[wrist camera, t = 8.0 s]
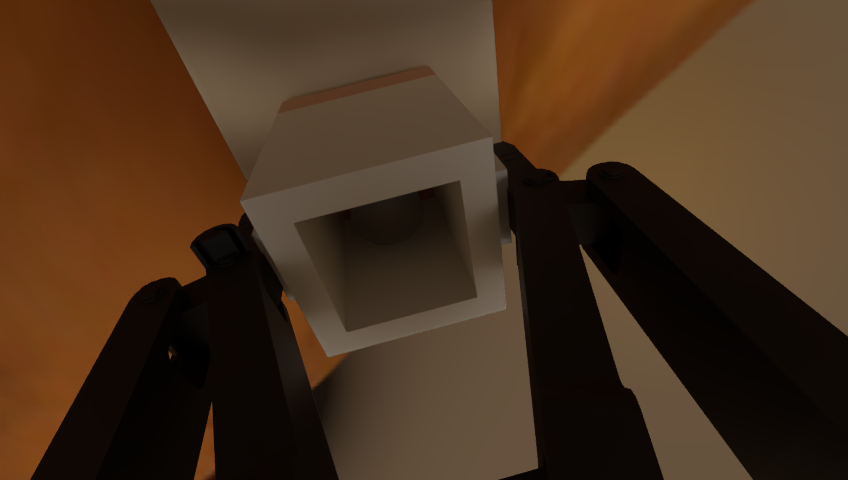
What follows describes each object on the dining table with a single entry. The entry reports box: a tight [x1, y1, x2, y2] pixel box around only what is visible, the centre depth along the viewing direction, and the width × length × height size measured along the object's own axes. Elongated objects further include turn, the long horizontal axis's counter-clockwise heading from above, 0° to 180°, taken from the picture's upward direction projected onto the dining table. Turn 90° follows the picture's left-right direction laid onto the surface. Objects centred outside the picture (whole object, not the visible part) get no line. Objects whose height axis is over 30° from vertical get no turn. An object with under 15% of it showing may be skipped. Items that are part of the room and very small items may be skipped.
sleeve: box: [239, 66, 506, 357], centre depth 14 cm, size 6×6×8 cm
